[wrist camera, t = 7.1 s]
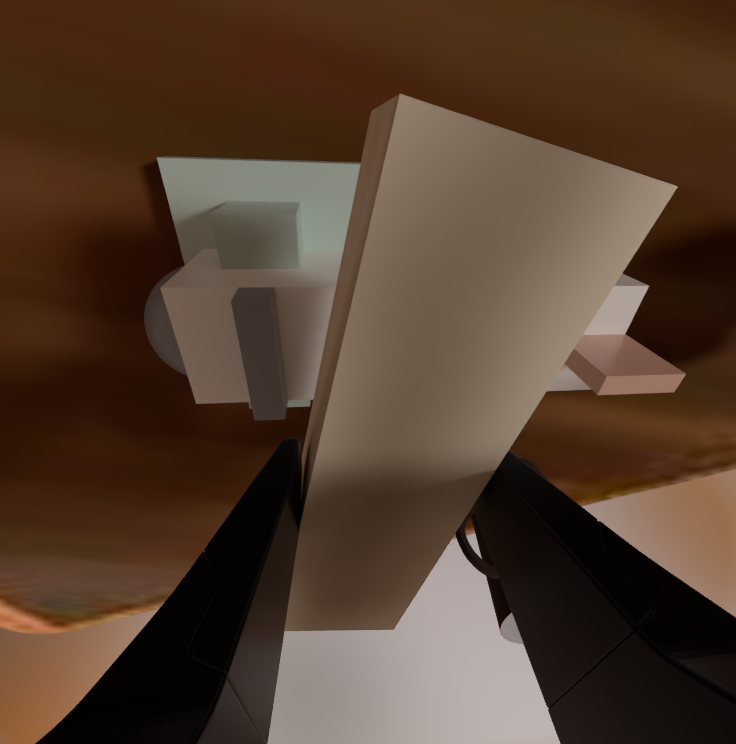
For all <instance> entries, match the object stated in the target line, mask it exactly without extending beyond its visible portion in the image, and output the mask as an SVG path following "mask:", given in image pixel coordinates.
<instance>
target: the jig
mask: <svg viewBox="0 0 736 744" xmlns="http://www.w3.org/2000/svg"><path fill="white" fill-rule="evenodd" d="M157 160H158V164H159V168H160V172H161V176H162V179H163V183H164V187H165V191H166V195H167V199H168V202H169V206H170V210H171V214H172V218H173V222H174V226H175V229H176V233H177V237H178V241H179V245H180V249H181V252H182V256H183V260H184V264H185V266H182V267H179V268H177V269H175V270H173V271H171V272H170V273H168V274H167V275H165V276H164V277H163V278H161V280H160V281H159V282H158V283H157V284H156V285H155V286H154V288H153V289H152V291H151V292H150V295H149V297H148V299H147V302H146V306H145V311H144V324H145V330H146V334H147V337H148V340H149V342H150V344H151V346H152V347H153V349H154V350H155V352H156V353H157V354H158V356H159V357H160V358H161V359H162V360H163V361H164V362H165V363H166V364H168V365H169V366H170V367H172V368H173V369H175V370H176V371H178V372H180V373H182V374H185V375H187V376H188V379H189V382H190V385H191V388H192V392H193V395H194V398H195V401H196V404H206V403H234V402H248V403H249V408H250V409H252V411H253V416H254V421H257V420H281V419H285V418H286V411H287V407H306V406H310V404H311V400H313V399H314V394H315V389H316V384H317V379H318V374H319V369H320V364H321V359H322V354H323V349H324V344H325V339H326V334H327V329H328V324H329V319H330V314H331V309H332V304H333V299H334V294H335V289H336V284H337V279H338V274H339V269H340V264H341V259H342V254H343V249H344V244H345V239H346V234H347V229H348V224H349V219H350V214H351V209H352V205H353V200H354V195H355V190H356V185H357V180H358V175H359V170H360V165H361V163H359V162H329V161H298V160H267V159H236V158H205V157H174V156H167V157H158V158H157ZM648 287H649V286H648V285H646V284H644V283H642V282H640V281H637V280H635V279H633V278H631V277H629V276H626V275H624V274H621V276H620V278H619V279H618V281H617V282H616V284H615V285H614V287H613V288H612V290H611V292H610V293H609V295H608V296H607V298H606V299H605V301H604V303H603V304H602V306H601V307H600V309H599V310H598V312H597V313H596V315H595V317H594V318H593V320H592V321H591V323H590V324H589V326H588V327H587V329H586V331H585V332H584V334H583V335H582V337H581V338H580V340H579V341H578V343H577V345H576V346H575V348H574V349H573V351H572V352H571V354H570V355H569V357H568V359H567V360H566V362H565V363H564V365H563V366H562V368H561V369H560V371H559V373H558V374H557V376H556V377H555V379H554V380H553V382H552V383H551V385H550V387H549V388H548V390H547V391H564V390H593V391H594V392H595V393H596V394H597V395H613V394H639V393H666V392H675V390H676V389H677V387H678V385H679V384H680V382H681V381H682V379H683V378H684V376H685V375H686V374H685V373H684V372H682V371H681V370H679V369H678V368H676V367H675V366H673V365H672V364H670V363H669V362H667V361H665V360H664V359H662V358H661V357H659V356H658V355H656V354H655V353H653V352H652V351H650V350H649V349H647V348H646V347H644V346H643V345H641V344H640V343H638V342H636V341H635V340H633V339H632V338H630V337H629V336H627V335H626V334H625V333H626V331H627V329H628V327H629V325H630V323H631V321H632V319H633V317H634V315H635V313H636V311H637V309H638V307H639V305H640V303H641V301H642V299H643V297H644V295H645V293H646V291H647V289H648Z"/></svg>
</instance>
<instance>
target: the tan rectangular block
mask: <svg viewBox="0 0 736 744" xmlns="http://www.w3.org/2000/svg"><path fill="white" fill-rule="evenodd" d="M677 187H678V186H675V185H672V184H669V183H666V182H663V181H660V180H657V179H654V178H651V177H648V176H645V175H642V174H639V173H636V172H633V171H630V170H627V169H624V168H621V167H618V166H615V165H612V164H609V163H606V162H603V161H600V160H597V159H594V158H591V157H588V156H585V155H582V154H579V153H576V152H573V151H570V150H567V149H564V148H561V147H558V146H555V145H552V144H549V143H546V142H543V141H540V140H537V139H534V138H531V137H528V136H525V135H522V134H519V133H516V132H513V131H510V130H507V129H504V128H501V127H498V126H495V125H492V124H489V123H486V122H483V121H480V120H477V119H474V118H471V117H468V116H465V115H462V114H459V113H456V112H453V111H450V110H447V109H444V108H441V107H438V106H435V105H432V104H429V103H426V102H423V101H420V100H417V99H414V98H411V97H408V96H405V95H402V94H399V95H397V96H395V97H394V98H392V99H391V100H389V101H387V102H386V103H384V104H382V105H381V106H379V107H377V108H376V109H374V110H372V111H371V115H370V120H369V125H368V130H367V135H366V140H365V145H364V150H363V155H362V160H361V165H360V170H359V175H358V180H357V185H356V190H355V195H354V200H353V205H352V209H351V214H350V219H349V224H348V229H347V234H346V239H345V244H344V249H343V254H342V259H341V264H340V269H339V274H338V279H337V284H336V289H335V294H334V299H333V304H332V309H331V314H330V319H329V324H328V329H327V334H326V339H325V344H324V349H323V354H322V359H321V364H320V369H319V374H318V379H317V384H316V389H315V394H314V399H313V404H312V409H311V414H310V419H309V424H308V429H307V434H306V439H305V444H304V449H303V454H302V494H301V514H300V524H299V537H298V543H297V550H296V557H295V563H294V570H293V577H292V583H291V590H290V596H289V603H288V610H287V616H286V623H285V630H284V631H317V630H318V631H323V630H387V629H388V630H390V629H391V630H392V629H394V628H395V626H396V625H397V623H398V622H399V620H400V619H401V617H402V616H403V614H404V612H405V611H406V609H407V608H408V606H409V605H410V603H411V602H412V600H413V598H414V597H415V595H416V594H417V592H418V591H419V589H420V587H421V586H422V584H423V583H424V581H425V579H426V578H427V577H428V575H429V573H430V572H431V570H432V569H433V567H434V566H435V564H436V563H437V561H438V559H439V558H440V556H441V555H442V553H443V552H444V550H445V549H446V547H447V545H448V544H449V542H450V541H451V539H452V538H453V536H454V535H455V533H456V531H457V530H458V528H459V527H460V525H461V524H462V522H463V521H464V519H465V517H466V516H467V514H468V513H469V511H470V510H471V508H472V507H473V505H474V503H475V502H476V500H477V499H478V497H479V496H480V494H481V493H482V491H483V489H484V488H485V486H486V485H487V483H488V482H489V480H490V479H491V477H492V475H493V474H494V472H495V470H496V469H497V468H498V466H499V464H500V463H501V461H502V460H503V458H504V457H505V455H506V454H507V452H508V450H509V449H510V447H511V446H512V444H513V443H514V441H515V440H516V438H517V436H518V435H519V433H520V432H521V430H522V429H523V427H524V426H525V424H526V422H527V421H528V419H529V418H530V416H531V415H532V413H533V412H534V410H535V408H536V407H537V405H538V404H539V402H540V401H541V399H542V398H543V396H544V394H545V393H546V391H547V390H548V388H549V387H550V385H551V383H552V382H553V380H554V379H555V377H556V376H557V374H558V373H559V371H560V369H561V368H562V366H563V365H564V363H565V362H566V360H567V359H568V357H569V355H570V354H571V352H572V351H573V349H574V348H575V346H576V345H577V343H578V341H579V340H580V338H581V337H582V335H583V334H584V332H585V331H586V329H587V327H588V326H589V324H590V323H591V321H592V320H593V318H594V317H595V315H596V313H597V312H598V310H599V309H600V307H601V306H602V304H603V303H604V301H605V299H606V298H607V296H608V295H609V293H610V292H611V290H612V288H613V287H614V285H615V284H616V282H617V281H618V279H619V278H620V276H621V274H622V273H623V271H624V270H625V268H626V267H627V265H628V264H629V262H630V260H631V259H632V257H633V256H634V254H635V253H636V251H637V250H638V248H639V246H640V245H641V243H642V242H643V240H644V239H645V237H646V236H647V234H648V232H649V231H650V229H651V228H652V226H653V225H654V223H655V222H656V220H657V218H658V217H659V215H660V214H661V212H662V211H663V209H664V208H665V206H666V204H667V203H668V201H669V200H670V198H671V197H672V195H673V193H674V192H675V190H676V189H677Z"/></svg>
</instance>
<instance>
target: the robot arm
mask: <svg viewBox="0 0 736 744" xmlns="http://www.w3.org/2000/svg"><path fill="white" fill-rule="evenodd" d="M301 494H302V454H301V445H300V439H299V438H284V439H283V440H282V441H281V442H280V444H279V445H278V447H277V448H276V449H275V451H274V452H273V454H272V455H271V457H270V458H269V459H268V461H267V462H266V464H265V465H264V466H263V468H262V469H261V471H260V472H259V473H258V475H257V476H256V478H255V479H254V480H253V482H252V483H251V485H250V486H249V487H248V489H247V490H246V492H245V493H244V494H243V496H242V497H241V499H240V500H239V502H238V503H237V504H236V506H235V507H234V509H233V510H232V511H231V513H230V514H229V516H228V517H227V518H226V520H225V521H224V523H223V524H222V525H221V527H220V528H219V530H218V531H217V532H216V534H215V535H214V537H213V538H212V539H211V541H210V542H209V544H208V545H207V546H206V548H205V550H204V551H205V552H203V553H201V555H200V556H199V557H198V559H197V560H196V562H195V563H194V565H193V566H192V567H191V569H190V570H189V571H188V573H187V574H186V575H185V577H184V578H183V579H182V581H181V582H180V583H179V585H178V586H177V587H176V589H175V590H174V591H173V593H172V594H171V595H170V596H169V598H168V599H167V600H166V601H165V603H164V604H163V605H162V606H161V607H160V609H159V610H158V611H157V612H156V614H155V615H154V616H153V617H152V618H151V620H150V621H149V622H148V623H147V624H146V626H145V627H144V628H143V629H142V630H141V631H140V633H139V634H138V635H137V636H136V637H135V638H134V640H133V641H132V642H131V643H130V644H129V645H128V647H127V648H126V649H125V650H124V651H123V652H122V654H121V655H120V656H119V657H118V658H117V660H116V661H115V662H114V663H113V664H112V665H111V666H110V668H109V669H108V670H107V671H106V672H105V673H104V675H103V676H102V677H101V678H100V679H99V681H98V682H97V683H96V684H95V685H94V686H93V688H92V689H91V690H90V691H89V692H88V693H87V694H86V696H85V697H84V698H83V699H82V700H81V701H80V702H79V703H78V704H77V705H76V707H75V708H74V709H73V710H72V711H71V712H70V713H69V714H68V715H67V716H66V717H65V718H64V719H63V720H62V721H61V722H59V723H58V724H57V725H56V726H55V727H54V728H53V729H52V730H51V731H50V732H48V733H47V734H46V735H45V736H44V737H43V738H42V739H40V740H39V741H38V742H37V743H35V744H267V742H268V736H269V729H270V723H271V716H272V709H273V702H274V695H275V689H276V682H277V676H278V670H279V662H280V655H281V650H282V643H283V636H284V630H285V623H286V616H287V610H288V603H289V596H290V590H291V583H292V577H293V570H294V563H295V557H296V550H297V543H298V537H299V524H300V514H301ZM473 509H474V512H475V515H476V518H477V521H478V523H479V526H480V529H481V531H482V534H483V537H484V539H485V542H486V545H487V547H488V550H489V553H490V555H491V558H492V561H493V563H494V566H495V569H496V571H497V574H498V577H499V579H500V582H501V585H502V588H503V590H504V593H505V596H506V598H507V601H508V604H509V606H510V609H511V612H512V614H513V617H514V620H515V622H516V625H517V628H518V630H519V633H520V636H521V638H522V641H523V644H524V646H525V649H526V652H527V654H528V657H529V660H530V662H531V665H532V668H533V670H534V673H535V676H536V678H537V681H538V684H539V686H540V689H541V692H542V694H543V697H544V700H545V702H546V705H547V707H548V708H549V709H548V711H549V714H550V716H551V719H552V722H553V724H554V727H555V730H556V733H557V735H558V738H559V740H560V743H561V744H736V617H734V616H733V615H731V614H730V613H728V612H727V611H725V610H724V609H722V608H721V607H719V606H718V605H716V604H715V603H714V602H712V601H711V600H709V599H708V598H706V597H705V596H703V595H702V594H700V593H699V592H697V591H696V590H695V589H693V588H691V587H690V586H689V585H687V584H686V583H684V582H683V581H681V580H680V579H679V578H677V577H676V576H674V575H673V574H671V573H670V572H668V571H667V570H665V569H664V568H663V567H661V566H660V565H658V564H657V563H655V562H654V561H652V560H651V559H650V558H648V557H647V556H646V555H644V554H643V553H641V552H640V551H638V550H637V549H636V548H634V547H633V546H632V545H630V544H629V543H628V542H626V541H625V540H624V539H623V538H621V537H620V536H619V535H617V534H616V533H615V532H613V531H612V530H611V529H609V528H608V527H607V526H606V525H604V524H603V523H602V522H600V521H597V519H596V518H595V517H594V516H593V515H591V514H590V513H589V512H587V511H586V510H585V509H583V508H582V507H581V506H580V505H578V504H577V503H576V502H575V501H573V500H572V499H571V498H569V497H568V496H567V495H566V494H564V493H563V492H562V491H561V490H559V489H558V488H557V487H555V486H554V485H553V484H552V483H550V482H549V481H548V480H546V479H545V478H544V477H543V476H541V475H540V474H539V473H537V472H536V471H535V470H534V469H532V468H531V467H530V466H528V465H527V464H526V463H525V462H523V461H522V460H521V459H519V458H518V457H517V456H516V455H514V454H513V453H512V452H510V451H509V450H508V452H507V454H506V455H505V457H504V458H503V460H502V461H501V463H500V464H499V466H498V468H497V469H496V470H495V472H494V474H493V475H492V477H491V479H490V480H489V482H488V483H487V485H486V486H485V488H484V489H483V491H482V493H481V494H480V496H479V497H478V499H477V500H476V502H475V503H474V505H473Z"/></svg>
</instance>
